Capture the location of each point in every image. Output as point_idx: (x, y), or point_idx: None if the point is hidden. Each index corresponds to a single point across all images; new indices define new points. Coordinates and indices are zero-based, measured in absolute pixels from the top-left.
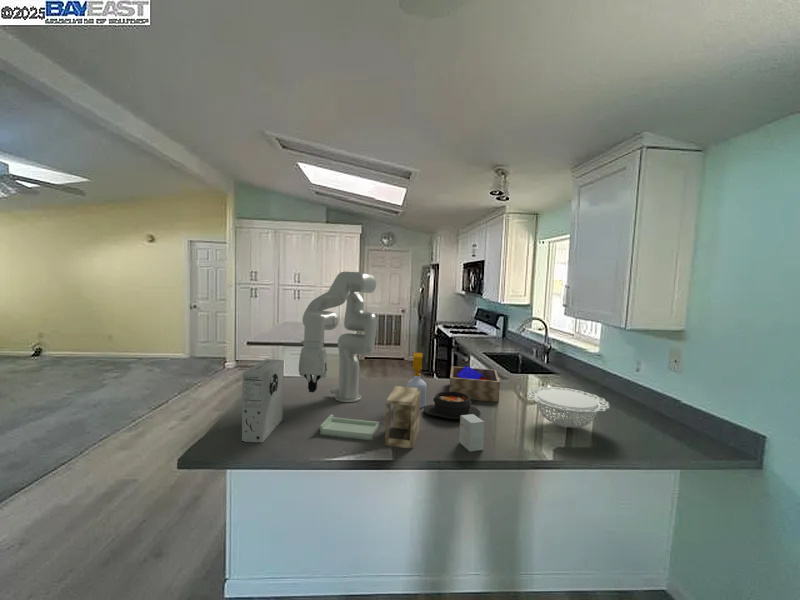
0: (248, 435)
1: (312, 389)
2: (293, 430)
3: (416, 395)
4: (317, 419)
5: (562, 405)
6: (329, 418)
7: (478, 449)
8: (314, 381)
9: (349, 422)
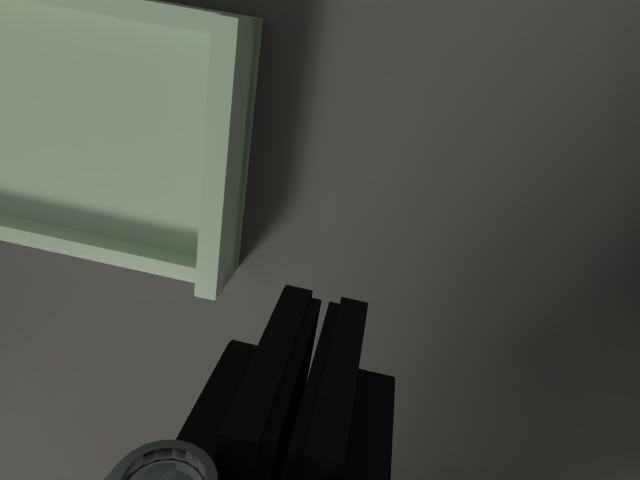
0: None
1: (279, 313)
2: (518, 93)
3: None
4: None
5: None
6: (201, 208)
7: None
8: (170, 469)
9: (77, 230)
